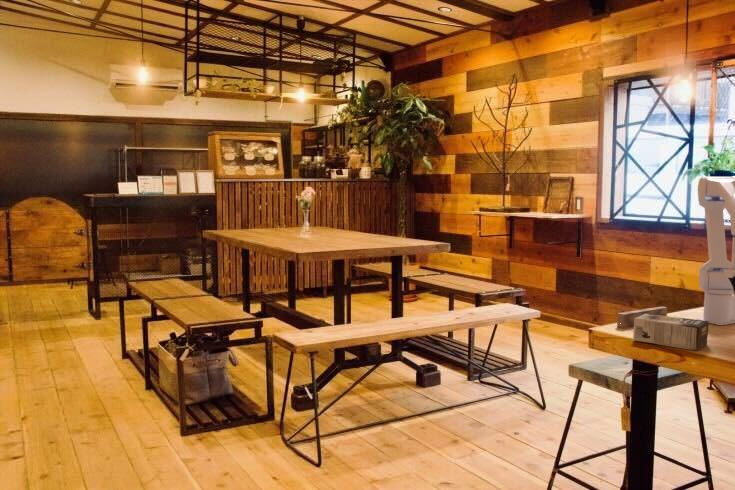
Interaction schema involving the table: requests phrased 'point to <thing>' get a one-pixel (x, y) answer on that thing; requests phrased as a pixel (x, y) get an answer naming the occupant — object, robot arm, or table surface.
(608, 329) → the table surface
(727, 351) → the table surface
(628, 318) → the walnut board
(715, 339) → the table surface
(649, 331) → the coffee box
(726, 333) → the table surface
